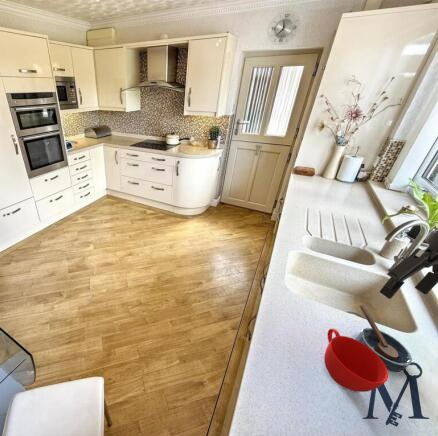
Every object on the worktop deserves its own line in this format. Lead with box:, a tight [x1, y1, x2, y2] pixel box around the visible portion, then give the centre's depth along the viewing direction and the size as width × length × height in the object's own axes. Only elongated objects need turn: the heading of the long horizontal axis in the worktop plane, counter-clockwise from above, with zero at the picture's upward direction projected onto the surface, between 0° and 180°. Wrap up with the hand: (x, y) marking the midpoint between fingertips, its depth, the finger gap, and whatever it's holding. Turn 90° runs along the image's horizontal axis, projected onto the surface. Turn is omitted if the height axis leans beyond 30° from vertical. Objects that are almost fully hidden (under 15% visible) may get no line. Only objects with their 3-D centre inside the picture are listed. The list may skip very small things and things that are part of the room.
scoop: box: [358, 304, 399, 361], centre depth 78 cm, size 16×5×8 cm, turn 2°
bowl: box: [355, 327, 413, 373], centre depth 75 cm, size 12×12×4 cm
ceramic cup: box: [323, 328, 389, 393], centre depth 69 cm, size 13×17×10 cm
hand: (402, 293), depth 69 cm, fingers open, 13 cm apart
